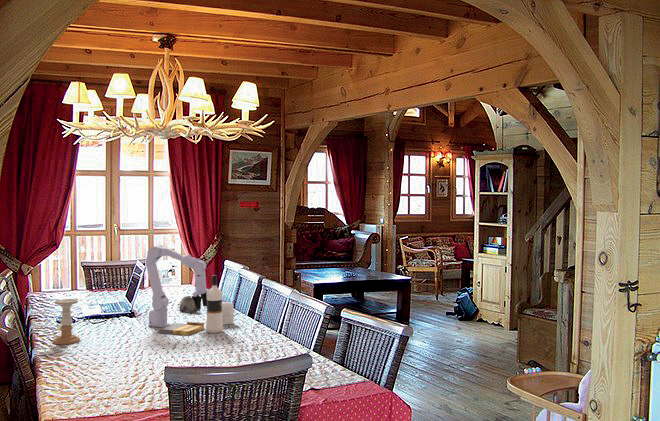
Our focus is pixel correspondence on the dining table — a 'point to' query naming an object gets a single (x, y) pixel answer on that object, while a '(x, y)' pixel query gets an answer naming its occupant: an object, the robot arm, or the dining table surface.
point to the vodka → (214, 308)
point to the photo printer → (227, 313)
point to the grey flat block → (170, 328)
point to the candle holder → (66, 323)
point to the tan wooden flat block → (189, 328)
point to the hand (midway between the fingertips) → (201, 307)
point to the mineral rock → (188, 305)
